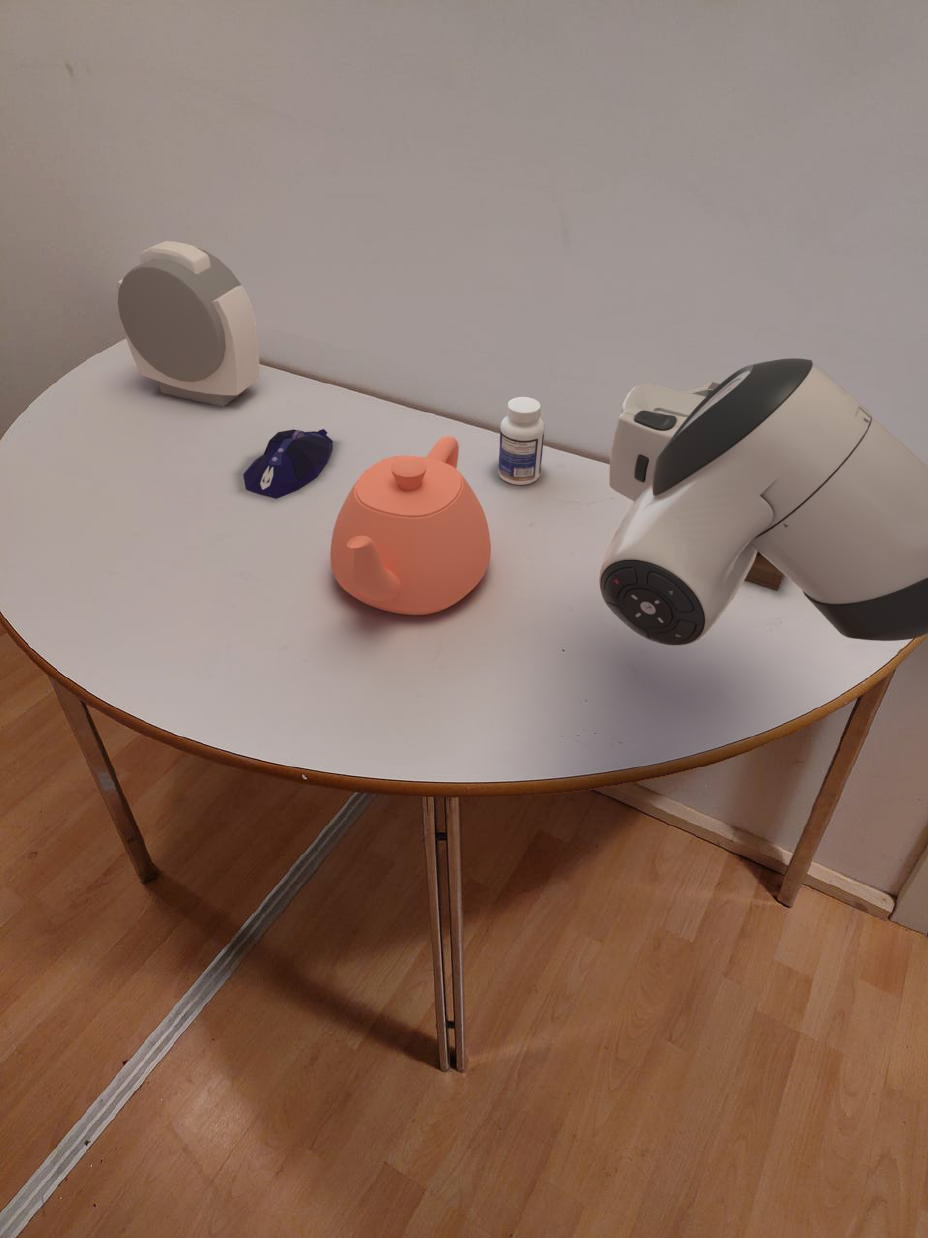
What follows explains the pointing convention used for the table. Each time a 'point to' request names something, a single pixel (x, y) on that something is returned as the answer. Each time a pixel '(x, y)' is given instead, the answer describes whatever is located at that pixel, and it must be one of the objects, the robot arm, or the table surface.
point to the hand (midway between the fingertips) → (769, 403)
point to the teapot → (411, 534)
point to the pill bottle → (521, 442)
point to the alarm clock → (189, 324)
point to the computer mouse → (288, 462)
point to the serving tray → (764, 573)
